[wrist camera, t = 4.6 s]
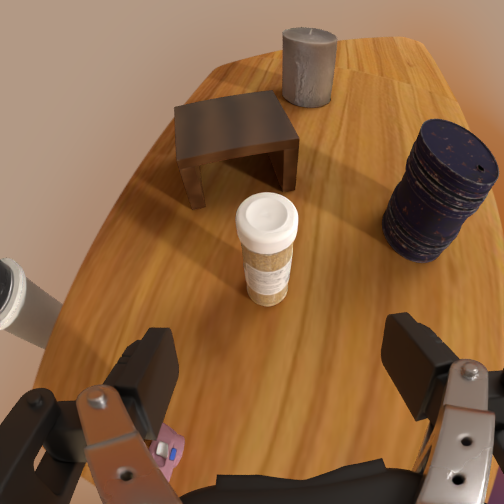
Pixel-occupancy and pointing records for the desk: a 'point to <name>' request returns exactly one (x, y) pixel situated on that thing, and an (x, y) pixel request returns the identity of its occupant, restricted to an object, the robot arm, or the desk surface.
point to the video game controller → (167, 450)
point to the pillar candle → (308, 66)
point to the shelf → (234, 137)
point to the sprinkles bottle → (267, 245)
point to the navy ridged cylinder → (438, 190)
